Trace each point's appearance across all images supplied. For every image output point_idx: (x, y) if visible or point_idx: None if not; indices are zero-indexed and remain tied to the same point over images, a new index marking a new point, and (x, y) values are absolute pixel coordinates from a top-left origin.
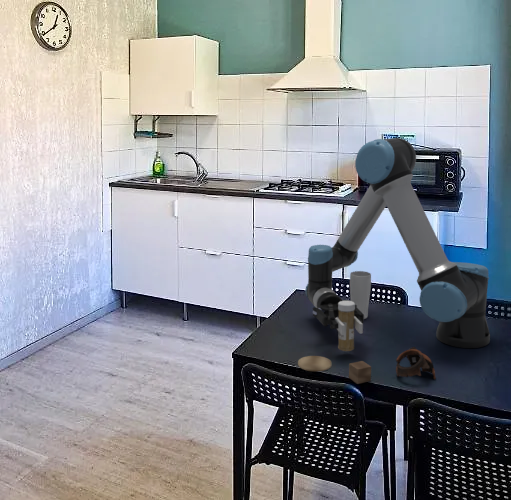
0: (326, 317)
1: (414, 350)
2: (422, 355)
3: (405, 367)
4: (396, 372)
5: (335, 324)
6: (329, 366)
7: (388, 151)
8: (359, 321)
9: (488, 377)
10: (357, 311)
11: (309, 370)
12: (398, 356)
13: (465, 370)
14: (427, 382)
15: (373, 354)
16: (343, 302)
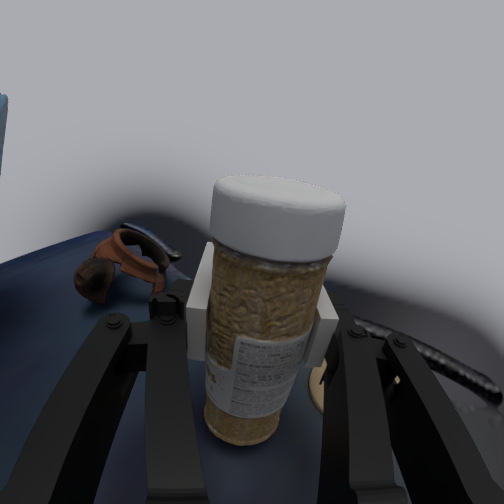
0: (394, 339)
1: (119, 236)
2: (123, 228)
3: (162, 251)
4: (163, 288)
5: (331, 296)
6: None
7: None
8: (207, 257)
9: (34, 261)
10: (85, 387)
11: None
12: (147, 264)
13: (31, 279)
14: (123, 275)
15: (123, 414)
16: (305, 190)
